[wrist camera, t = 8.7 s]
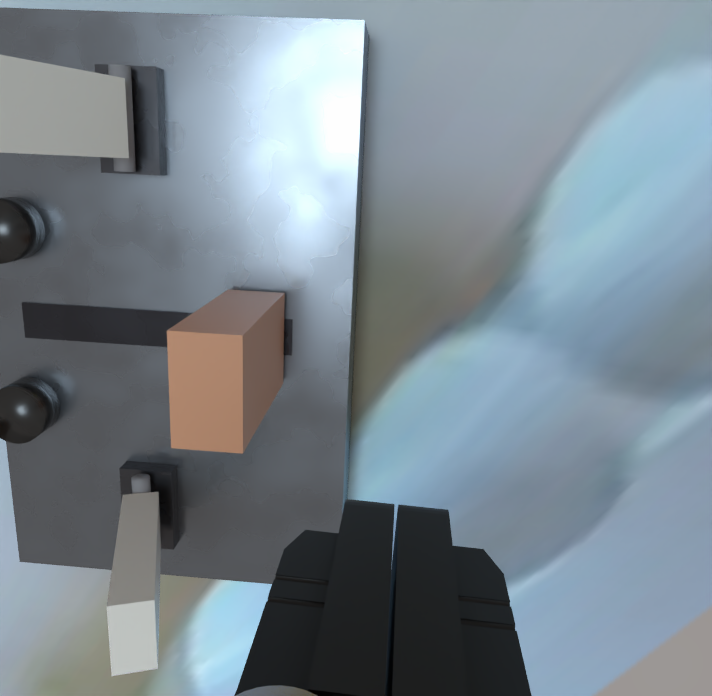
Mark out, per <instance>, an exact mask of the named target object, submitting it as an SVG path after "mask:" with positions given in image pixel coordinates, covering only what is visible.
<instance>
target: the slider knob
mask: <svg viewBox="0 0 712 696" xmlns="http://www.w3.org/2000/svg"><path fill="white" fill-rule="evenodd" d="M284 303H285V293H278V292H262V291H245V290H229V289H228V290H227V291H225V292H224V293H222V294H221V295H219V296H218V297H216V298H215V299H213V300H212V301H210V302H209V303H207V304H206V305H204V306H203V307H201V308H200V309H198V310H197V311H195V312H194V313H192V314H191V315H189V316H188V317H186V318H185V319H183V320H182V321H180V322H179V323H177V324H176V325H174V326H173V327H171V328H170V329H168V330H167V349H168V377H169V404H170V432H171V448H175V449H188V450H202V451H215V452H228V453H241V454H243V453H244V451H245V449H246V447H247V446H248V444H249V442H250V440H251V439H252V437H253V435H254V433H255V432H256V430H257V428H258V426H259V425H260V423H261V421H262V420H263V418H264V416H265V414H266V413H267V411H268V409H269V407H270V406H271V404H272V402H273V400H274V399H275V397H276V395H277V393H278V392H279V390H280V388H281V386H282V385H283V366H284Z"/></svg>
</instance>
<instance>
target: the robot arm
mask: <svg viewBox="0 0 712 696" xmlns="http://www.w3.org/2000/svg"><path fill="white" fill-rule="evenodd" d="M393 523H394V504H386V503H377V502H368V501H359V500H349V499H346V500H345V504H344V509H343V514H342V519H341V524H340V529H339V533H331V532H322V531H313V530H305V531H303V532H302V533H301V534H300V535H299V536H298V537H297V538H296V539H295V540H294V541H292V542H291V543H290V544H289V545H288V546H287V547H286V548H285V549H284V551H283V554H282V557H281V560H280V563H279V566H278V569H277V572H276V576H275V579H274V581H273V584H272V587H271V590H270V593H269V596H268V602H266V605H265V608H264V611H263V614H262V616H261V619H260V622H259V625H258V628H257V631H256V634H255V637H254V640H253V643H252V646H251V649H250V652H249V655H248V658H247V661H246V664H245V667H244V670H243V673H242V676H241V679H240V682H239V685H238V688H237V691H236V693H235V696H531V692H530V688H529V683H528V679H527V675H526V670H525V666H524V661H523V657H522V653H521V648H520V644H519V639H518V635H517V631H515V622H514V618H513V613H512V609H511V607H510V600H509V596H508V591H507V587H506V582H505V578H504V574H503V573H502V571H501V570H500V569H499V568H498V566H497V565H496V564H495V563H494V562H493V560H492V559H491V558H490V557H489V556H488V554H487V553H486V552H485V551H484V549H476V548H467V547H458V546H452V537H451V528H450V519H449V512H448V510H444V509H434V508H425V507H416V506H407V505H398V512H397V521H396V531H395V541H394V550H393V560H392V543H393ZM391 563H392V570H391Z"/></svg>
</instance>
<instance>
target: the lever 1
mask: <svg viewBox="0 0 712 696" xmlns="http://www.w3.org/2000/svg"><path fill="white" fill-rule="evenodd" d="M108 73H109V75H106V74H100V73H95V72H90V71H84V70H79V69H74V68H69V67H63V66H58V65H53V64H47V63H42V62H37V61H32V60H26V59H21V58H16V57H11V56H5V55H0V153H22V154H44V155H66V156H87V157H109V158H113V162H114V171H120V172H136V165H135V144H134V122H133V101H132V80H131V67H130V66H126V65H118V64H109V65H108Z"/></svg>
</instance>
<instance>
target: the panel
mask: <svg viewBox="0 0 712 696" xmlns="http://www.w3.org/2000/svg"><path fill="white" fill-rule="evenodd" d="M368 51H369V34H368V30H367V27H366V23H365V20H345V19H315V18H286V17H257V16H228V15H199V14H170V13H141V12H112V11H83V10H54V9H25V8H0V55H5V56H11V57H16V58H21V59H26V60H32V61H37V62H42V63H47V64H53V65H58V66H63V67H69V68H74V69H79V70H84V71H90V72H95V73H100V74H106V75H109V73H108V65H109V64H118V65H126V66H130V67H131V80H132V101H133V122H134V144H135V165H136V172H120V171H114V162H113V158H109V157H87V156H66V155H44V154H22V153H0V438H1V439H3V440H5V441H6V444H7V453H8V462H9V471H10V479H11V488H12V497H13V506H14V514H15V523H16V532H17V541H18V550H19V558H20V562H30V563H41V564H52V565H64V566H75V567H86V568H97V569H109V570H112V566H113V559H114V552H115V545H116V538H117V531H118V524H119V517H120V510H121V504H122V497H123V495H126V494H132V483H131V478H132V477H133V476H134V475H136V474H148V475H150V484H151V492H159V514H160V537H161V563H160V574H165V575H176V576H188V577H199V578H210V579H221V580H233V581H244V582H255V583H267V584H273V581H274V579H275V576H276V572H277V569H278V566H279V563H280V560H281V557H282V554H283V551H284V549H285V548H286V547H287V546H288V545H289V544H290V543H291V542H292V541H294V540H295V539H296V538H297V537H298V536H299V535H300V534H301V533H302V532H303V531H305V530H313V531H322V532H331V533H339V529H340V524H341V519H342V514H343V509H344V504H345V500H346V499H347V491H348V470H349V449H350V428H351V407H352V386H353V365H354V344H355V323H356V302H357V281H358V260H359V239H360V218H361V197H362V176H363V155H364V134H365V113H366V92H367V71H368ZM228 289H229V290H245V291H262V292H278V293H285V303H284V366H283V385H282V386H281V388H280V390H279V392H278V393H277V395H276V397H275V399H274V400H273V402H272V404H271V406H270V407H269V409H268V411H267V413H266V414H265V416H264V418H263V420H262V421H261V423H260V425H259V426H258V428H257V430H256V432H255V433H254V435H253V437H252V439H251V440H250V442H249V444H248V446H247V447H246V449H245V451H244V453H243V454H241V453H228V452H215V451H202V450H188V449H175V448H171V432H170V404H169V377H168V349H167V330H168V329H170V328H171V327H173V326H174V325H176V324H177V323H179V322H180V321H182V320H183V319H185V318H186V317H188V316H189V315H191V314H192V313H194V312H195V311H197V310H198V309H200V308H201V307H203V306H204V305H206V304H207V303H209V302H210V301H212V300H213V299H215V298H216V297H218V296H219V295H221V294H222V293H224V292H225V291H227V290H228Z"/></svg>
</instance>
